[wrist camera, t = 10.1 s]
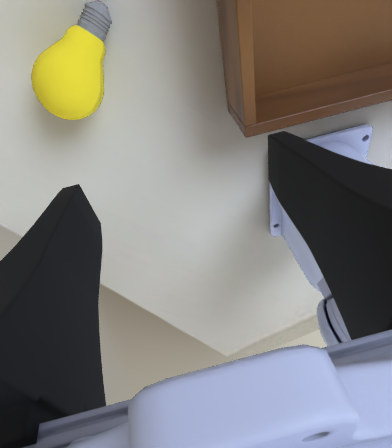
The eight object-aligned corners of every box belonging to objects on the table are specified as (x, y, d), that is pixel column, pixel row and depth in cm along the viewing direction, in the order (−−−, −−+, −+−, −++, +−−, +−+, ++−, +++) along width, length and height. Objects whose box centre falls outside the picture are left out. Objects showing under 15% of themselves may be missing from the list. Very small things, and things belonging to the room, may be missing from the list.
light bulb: (39, 100, 18) (8, 96, 15) (80, -4, 17) (56, -35, 13) (93, 130, 19) (76, 133, 15) (137, 33, 17) (129, 13, 14)
